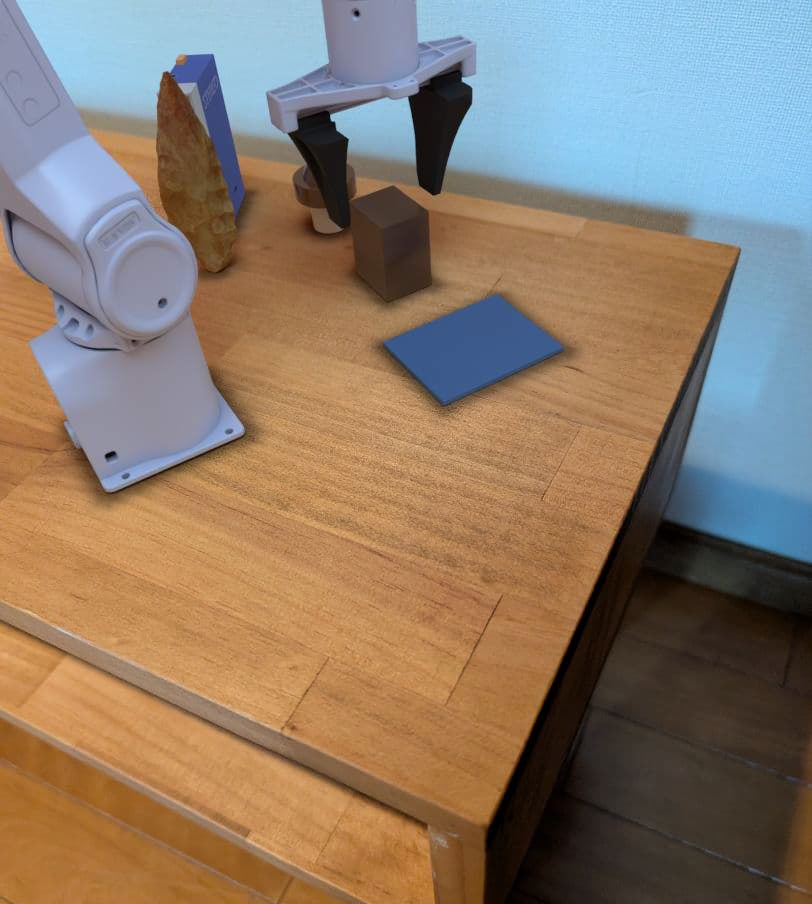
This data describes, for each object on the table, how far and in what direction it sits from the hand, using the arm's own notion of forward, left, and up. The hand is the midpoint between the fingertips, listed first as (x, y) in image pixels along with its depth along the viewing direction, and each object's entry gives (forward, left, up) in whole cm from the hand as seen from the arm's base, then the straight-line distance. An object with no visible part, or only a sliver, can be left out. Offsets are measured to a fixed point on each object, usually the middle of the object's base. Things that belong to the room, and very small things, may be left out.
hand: (385, 205), depth 57 cm
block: (0, 0, -6) cm, 6 cm away
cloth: (0, -11, -6) cm, 13 cm away
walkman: (-7, +18, -6) cm, 20 cm away
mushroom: (0, +11, -6) cm, 12 cm away
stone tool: (-11, +10, -6) cm, 16 cm away
